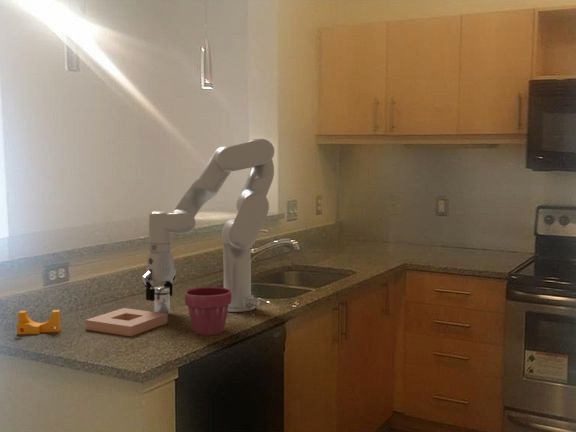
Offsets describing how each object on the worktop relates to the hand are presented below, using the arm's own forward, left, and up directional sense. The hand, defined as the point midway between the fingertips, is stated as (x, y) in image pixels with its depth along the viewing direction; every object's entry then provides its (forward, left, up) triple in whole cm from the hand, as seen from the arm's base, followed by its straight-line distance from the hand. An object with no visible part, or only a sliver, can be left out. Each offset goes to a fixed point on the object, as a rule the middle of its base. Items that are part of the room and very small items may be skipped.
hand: (159, 297), depth 238 cm
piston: (-1, -1, -6) cm, 6 cm away
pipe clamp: (+19, +35, -6) cm, 40 cm away
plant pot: (-28, +11, -6) cm, 30 cm away
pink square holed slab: (-1, +17, -6) cm, 18 cm away
